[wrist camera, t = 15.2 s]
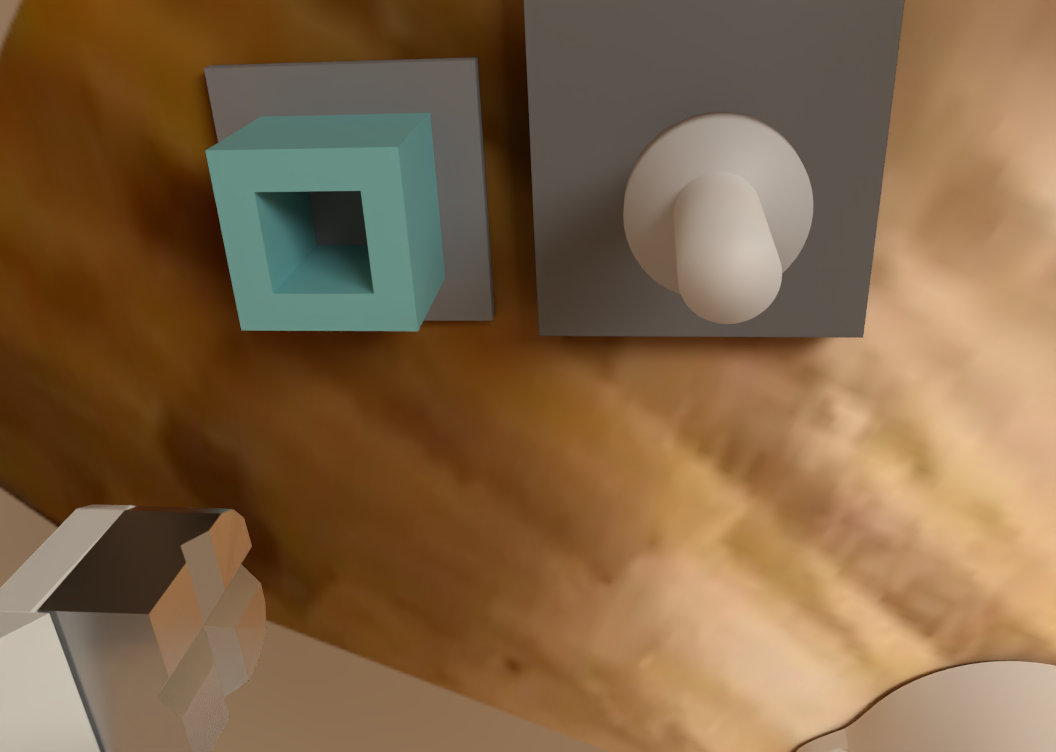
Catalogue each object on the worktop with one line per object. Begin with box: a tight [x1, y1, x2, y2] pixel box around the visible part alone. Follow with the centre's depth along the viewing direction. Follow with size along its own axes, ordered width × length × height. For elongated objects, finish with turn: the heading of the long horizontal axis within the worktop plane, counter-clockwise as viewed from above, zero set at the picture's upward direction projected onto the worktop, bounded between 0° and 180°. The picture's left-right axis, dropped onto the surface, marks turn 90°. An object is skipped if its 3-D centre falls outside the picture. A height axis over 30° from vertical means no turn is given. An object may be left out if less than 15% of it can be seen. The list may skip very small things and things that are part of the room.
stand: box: [524, 0, 905, 337], centre depth 29 cm, size 14×12×14 cm
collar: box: [206, 113, 445, 331], centre depth 34 cm, size 6×6×5 cm
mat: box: [204, 57, 495, 321], centre depth 37 cm, size 10×10×1 cm
